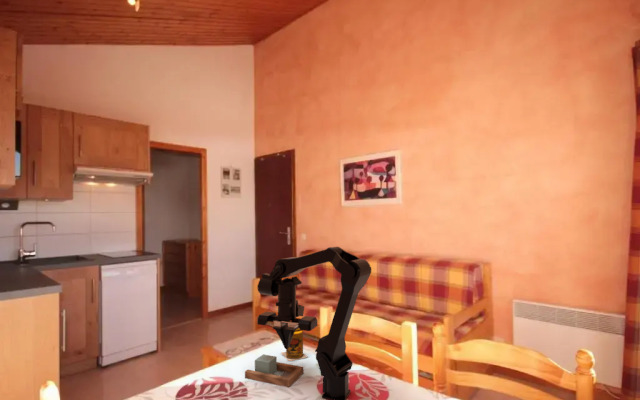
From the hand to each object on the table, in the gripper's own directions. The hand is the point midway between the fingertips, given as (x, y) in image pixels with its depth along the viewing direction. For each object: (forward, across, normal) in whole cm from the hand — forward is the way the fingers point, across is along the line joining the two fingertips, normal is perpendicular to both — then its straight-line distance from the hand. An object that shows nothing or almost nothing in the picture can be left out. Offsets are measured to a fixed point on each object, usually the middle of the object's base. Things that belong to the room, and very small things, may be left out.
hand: (286, 348), depth 110 cm
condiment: (+9, +6, -17) cm, 20 cm away
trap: (+9, 0, 0) cm, 9 cm away
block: (+9, +8, 0) cm, 12 cm away
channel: (+9, +5, 0) cm, 10 cm away
